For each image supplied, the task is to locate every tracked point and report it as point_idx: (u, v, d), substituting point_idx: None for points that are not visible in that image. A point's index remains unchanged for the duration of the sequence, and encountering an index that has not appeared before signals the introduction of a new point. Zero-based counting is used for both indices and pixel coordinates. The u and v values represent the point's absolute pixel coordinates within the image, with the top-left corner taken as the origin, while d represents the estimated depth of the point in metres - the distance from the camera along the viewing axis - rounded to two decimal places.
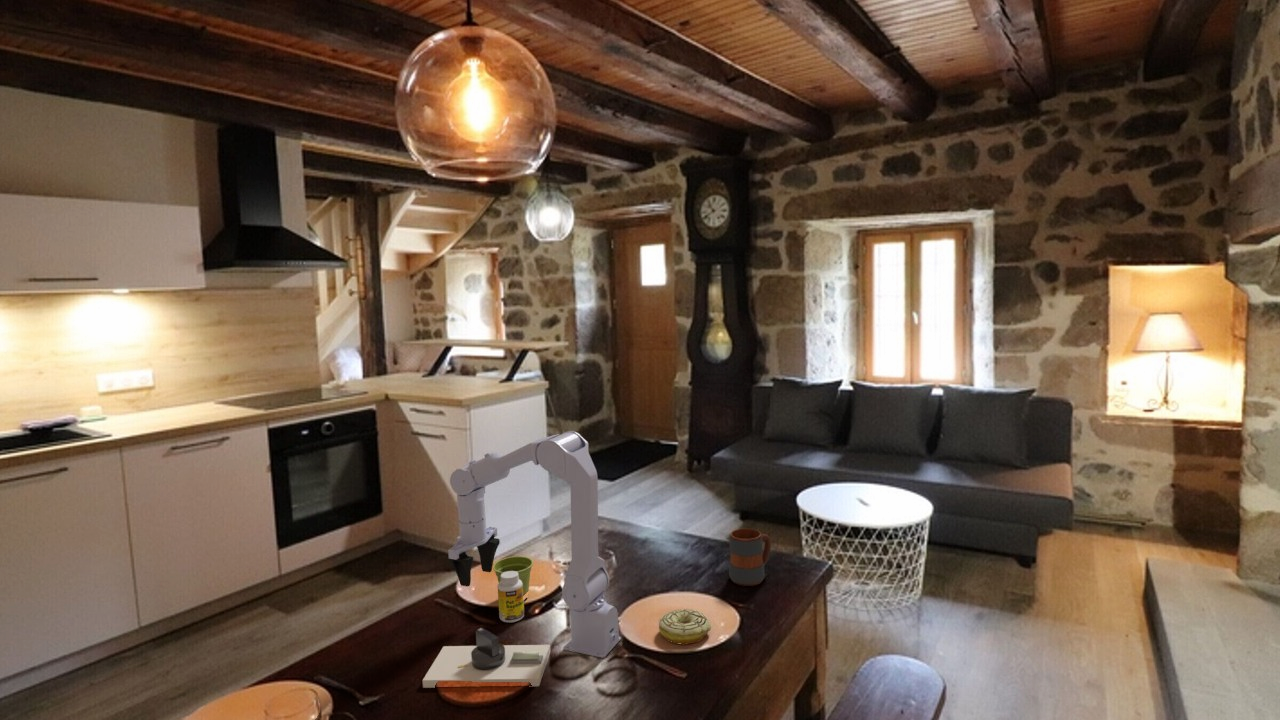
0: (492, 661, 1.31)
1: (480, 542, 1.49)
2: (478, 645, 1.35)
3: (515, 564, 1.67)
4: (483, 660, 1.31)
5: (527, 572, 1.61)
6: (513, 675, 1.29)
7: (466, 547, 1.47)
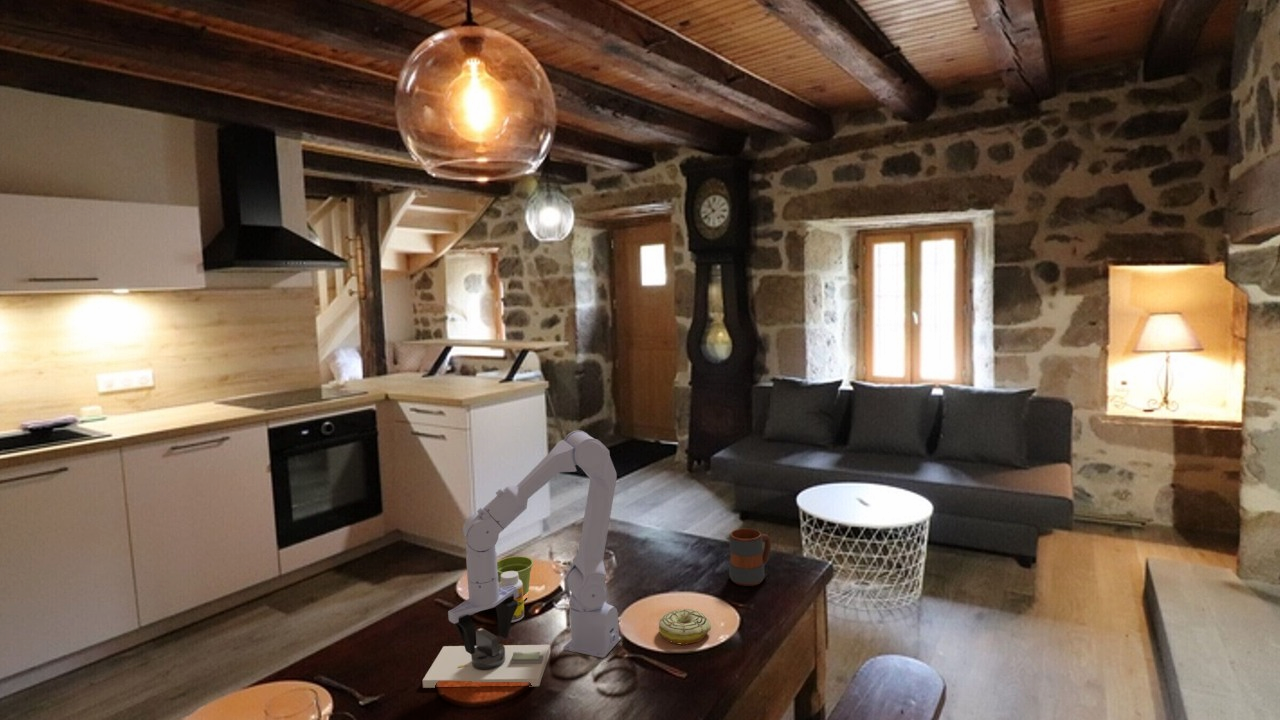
0: (492, 661, 1.31)
1: (487, 606, 1.30)
2: (478, 645, 1.35)
3: (515, 564, 1.67)
4: (483, 660, 1.31)
5: (527, 572, 1.61)
6: (513, 675, 1.29)
7: (468, 610, 1.28)
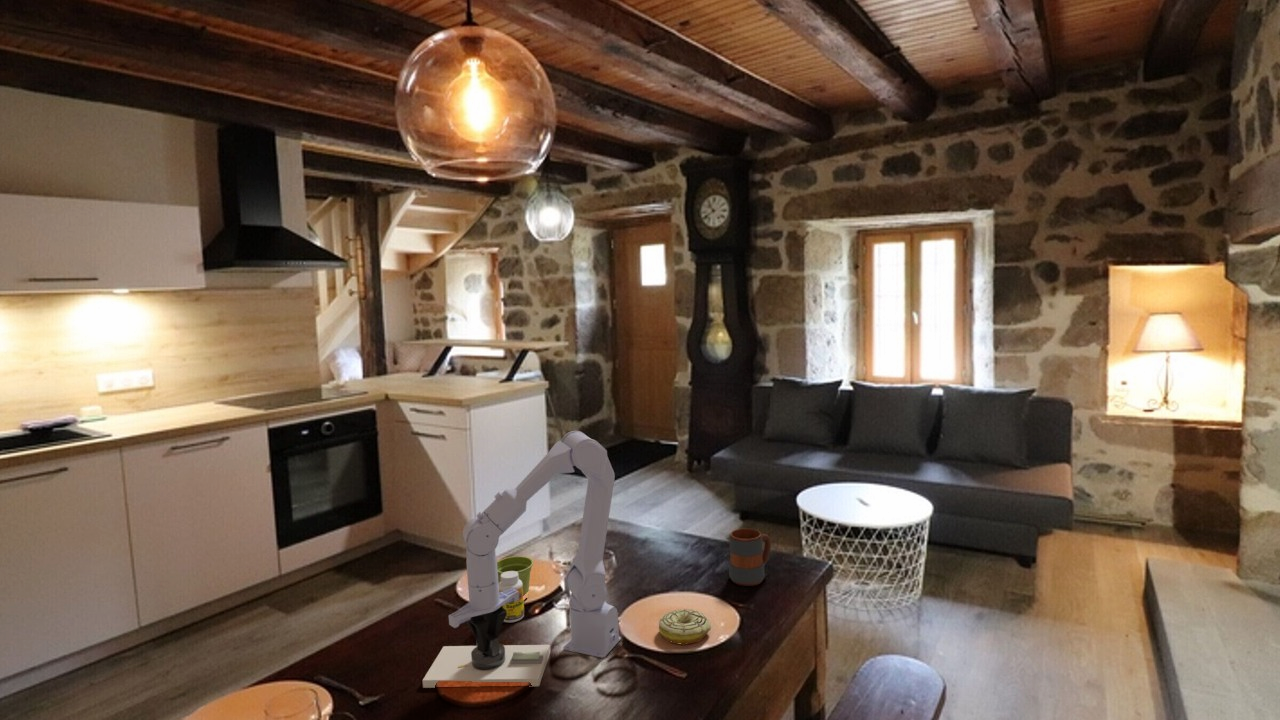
0: (492, 661, 1.31)
1: (487, 610, 1.30)
2: None
3: (515, 564, 1.67)
4: (483, 660, 1.31)
5: (527, 572, 1.61)
6: (513, 675, 1.29)
7: (469, 614, 1.28)
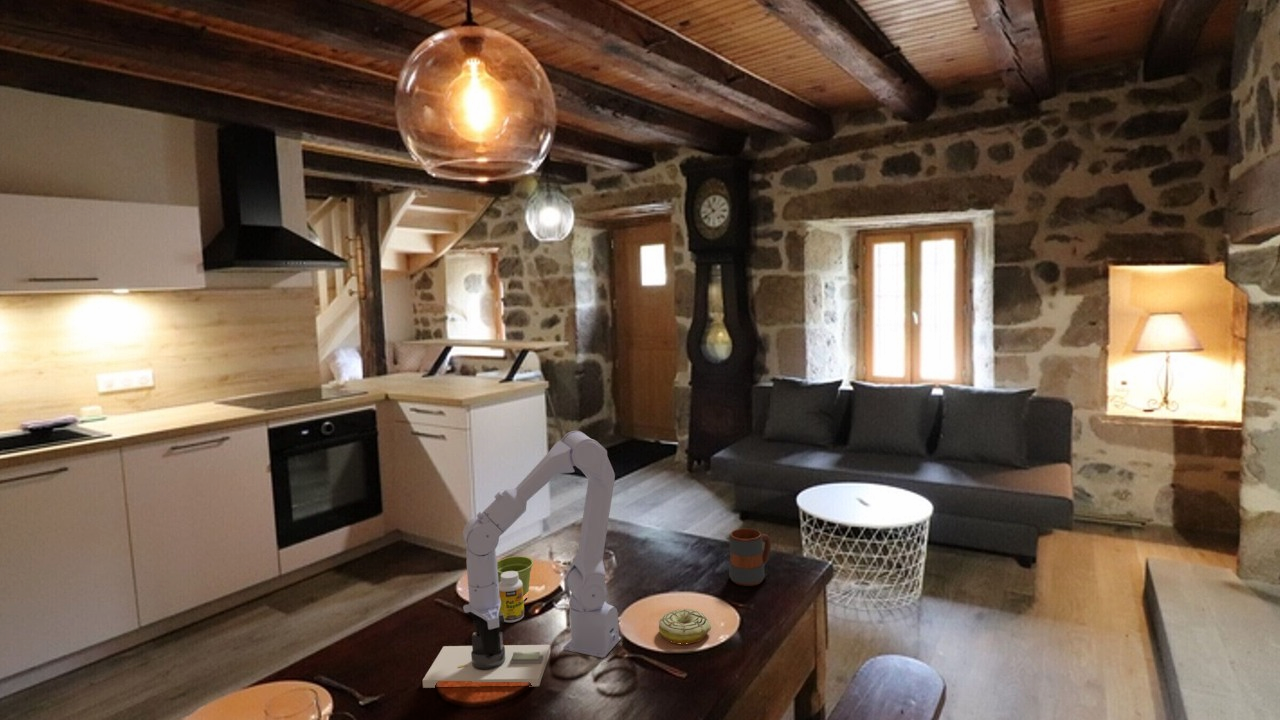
0: (502, 656, 1.33)
1: (500, 602, 1.33)
2: (476, 649, 1.33)
3: (515, 564, 1.67)
4: (495, 657, 1.31)
5: (527, 572, 1.61)
6: (513, 675, 1.29)
7: (498, 611, 1.29)
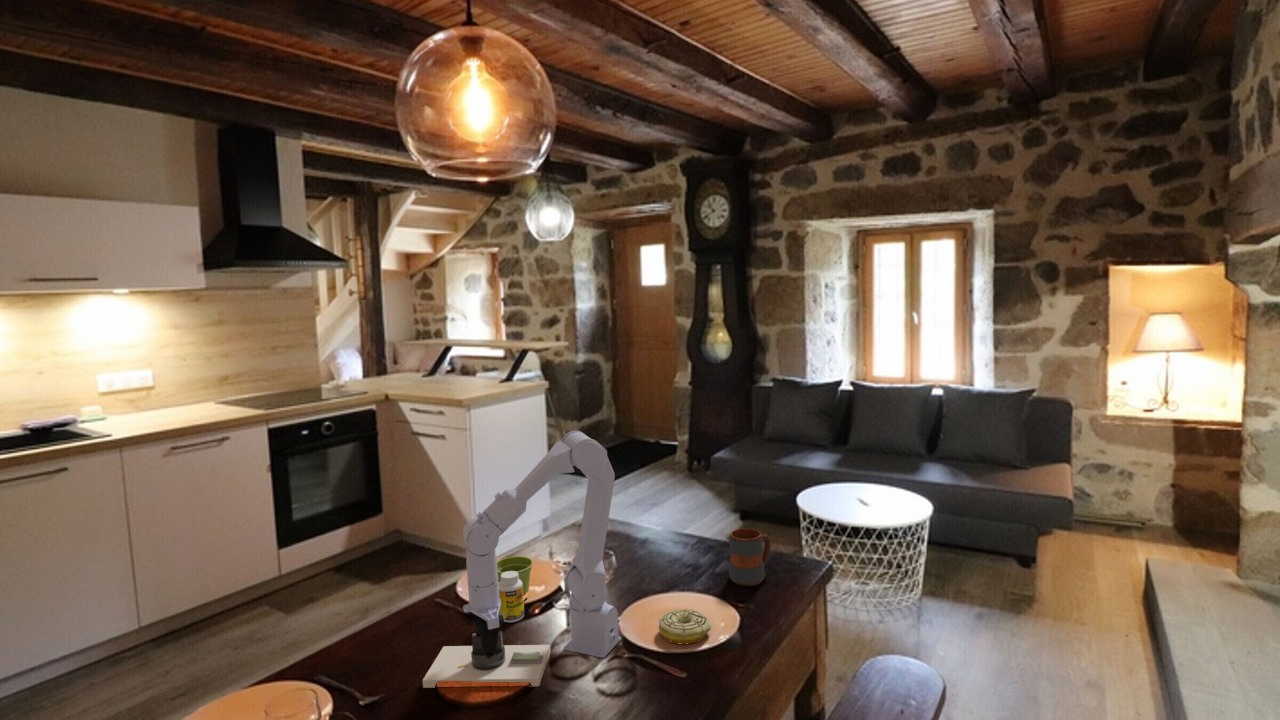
0: (503, 655, 1.33)
1: (500, 602, 1.33)
2: (476, 650, 1.33)
3: (515, 564, 1.67)
4: (497, 656, 1.32)
5: (527, 572, 1.61)
6: (513, 675, 1.29)
7: (498, 611, 1.29)
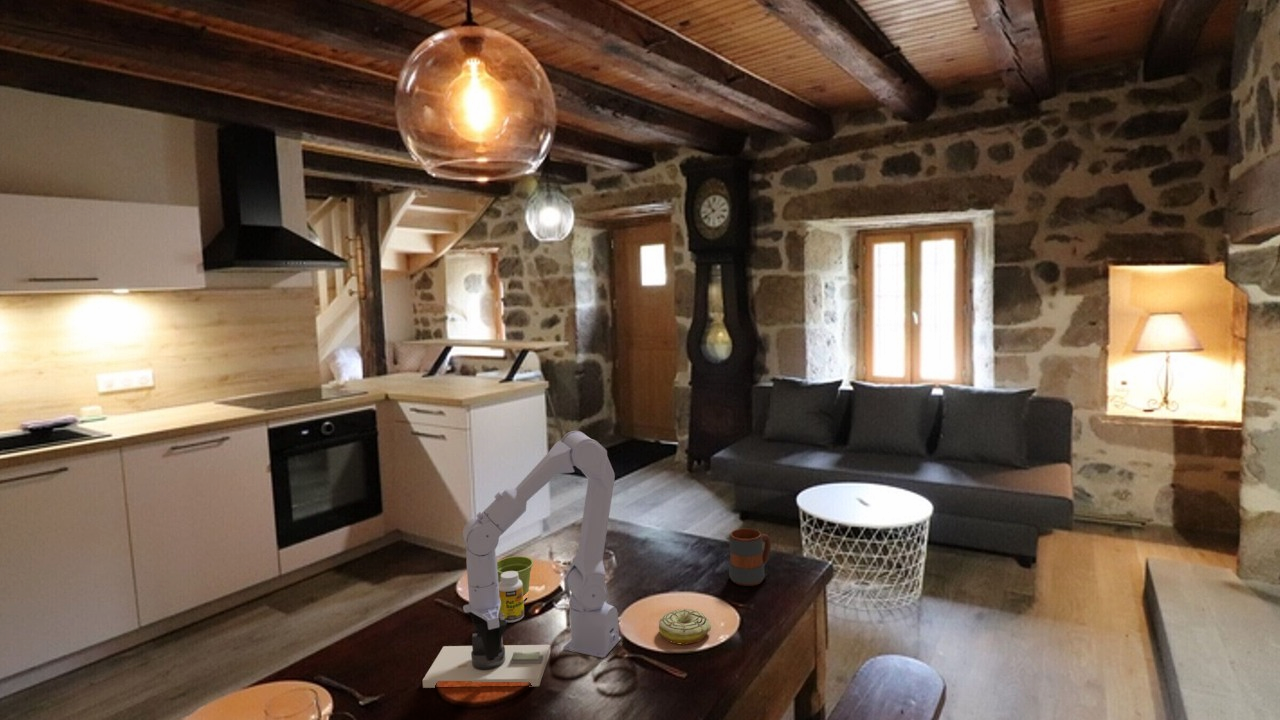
0: (503, 655, 1.33)
1: (500, 602, 1.33)
2: (476, 650, 1.33)
3: (515, 564, 1.67)
4: None
5: (527, 572, 1.61)
6: (513, 675, 1.29)
7: (498, 611, 1.29)
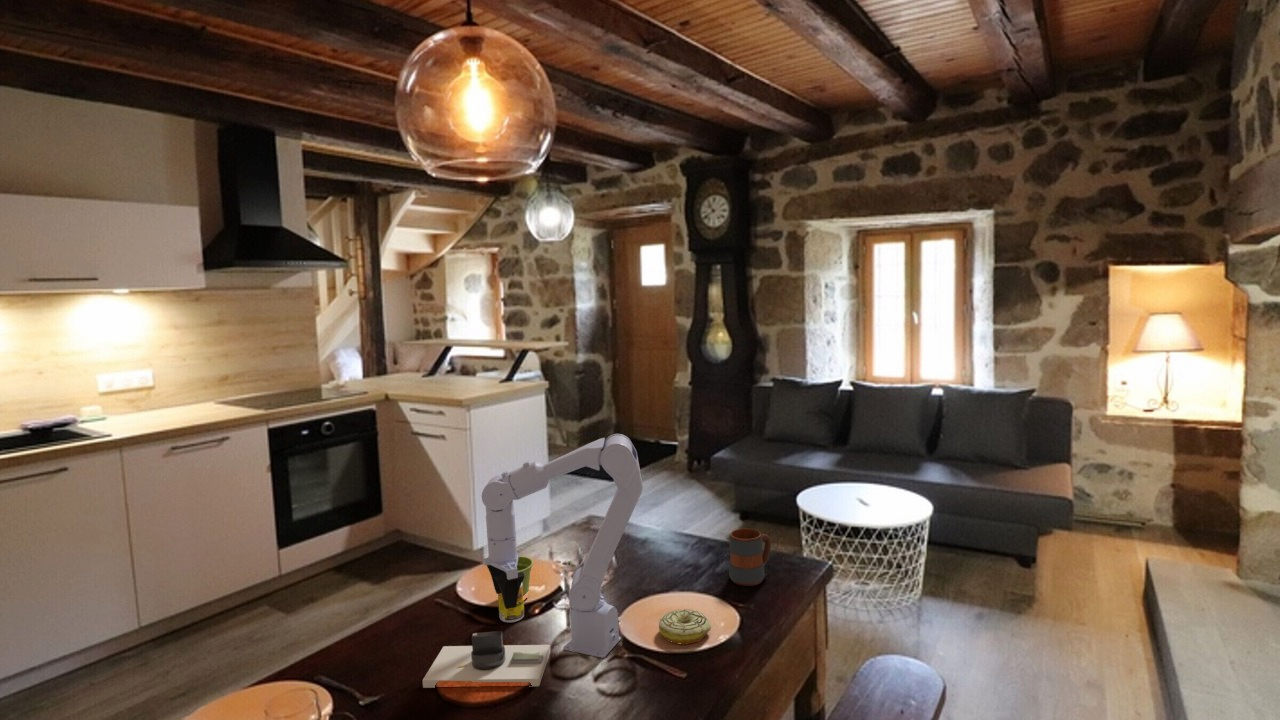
0: (503, 655, 1.33)
1: (517, 556, 1.40)
2: (476, 650, 1.33)
3: None
4: (498, 656, 1.32)
5: (527, 572, 1.61)
6: (513, 675, 1.29)
7: (516, 563, 1.36)
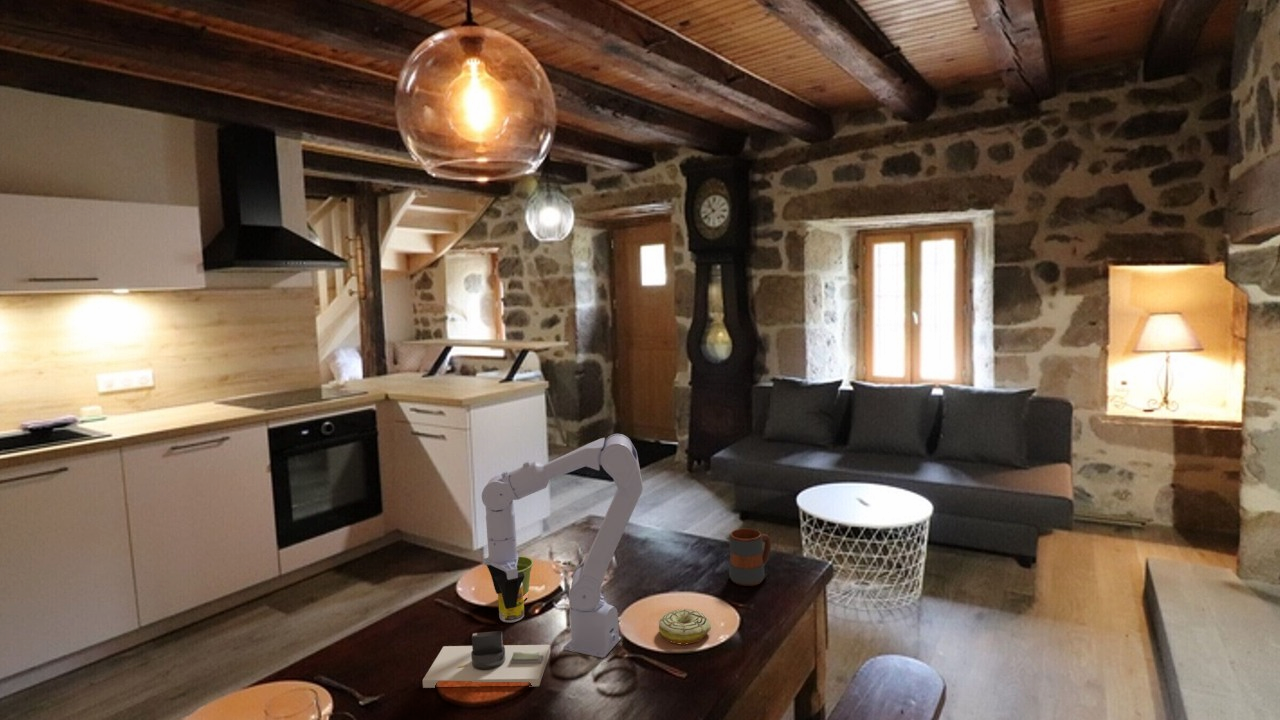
0: (503, 655, 1.33)
1: (517, 556, 1.40)
2: (476, 650, 1.33)
3: None
4: (498, 656, 1.32)
5: (527, 572, 1.61)
6: (513, 675, 1.29)
7: (516, 563, 1.36)
